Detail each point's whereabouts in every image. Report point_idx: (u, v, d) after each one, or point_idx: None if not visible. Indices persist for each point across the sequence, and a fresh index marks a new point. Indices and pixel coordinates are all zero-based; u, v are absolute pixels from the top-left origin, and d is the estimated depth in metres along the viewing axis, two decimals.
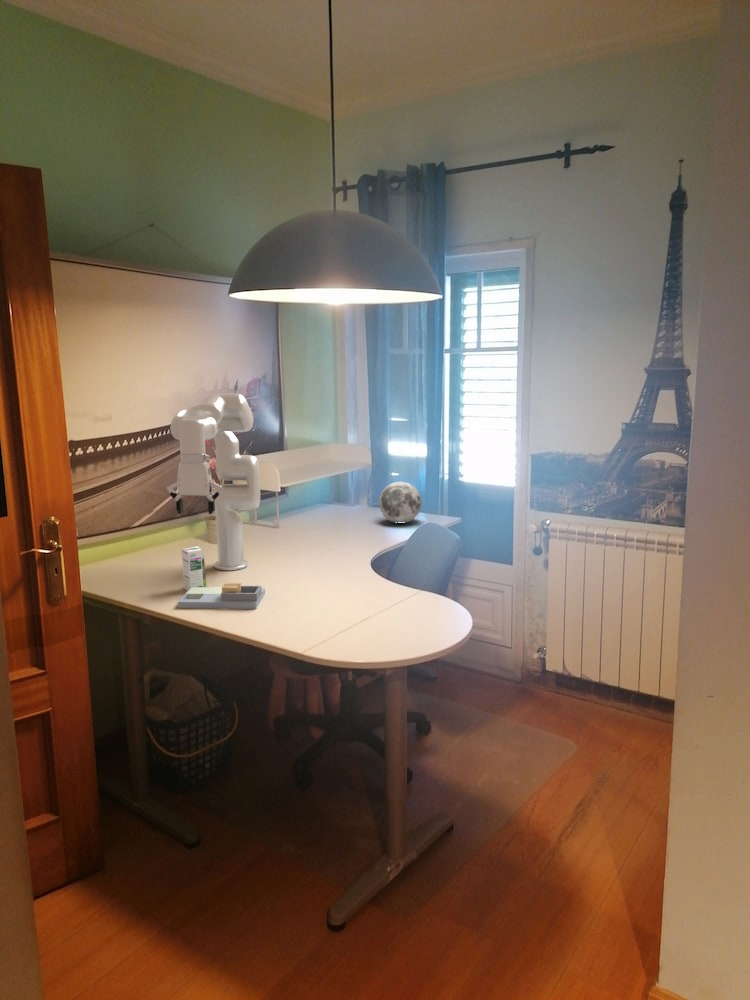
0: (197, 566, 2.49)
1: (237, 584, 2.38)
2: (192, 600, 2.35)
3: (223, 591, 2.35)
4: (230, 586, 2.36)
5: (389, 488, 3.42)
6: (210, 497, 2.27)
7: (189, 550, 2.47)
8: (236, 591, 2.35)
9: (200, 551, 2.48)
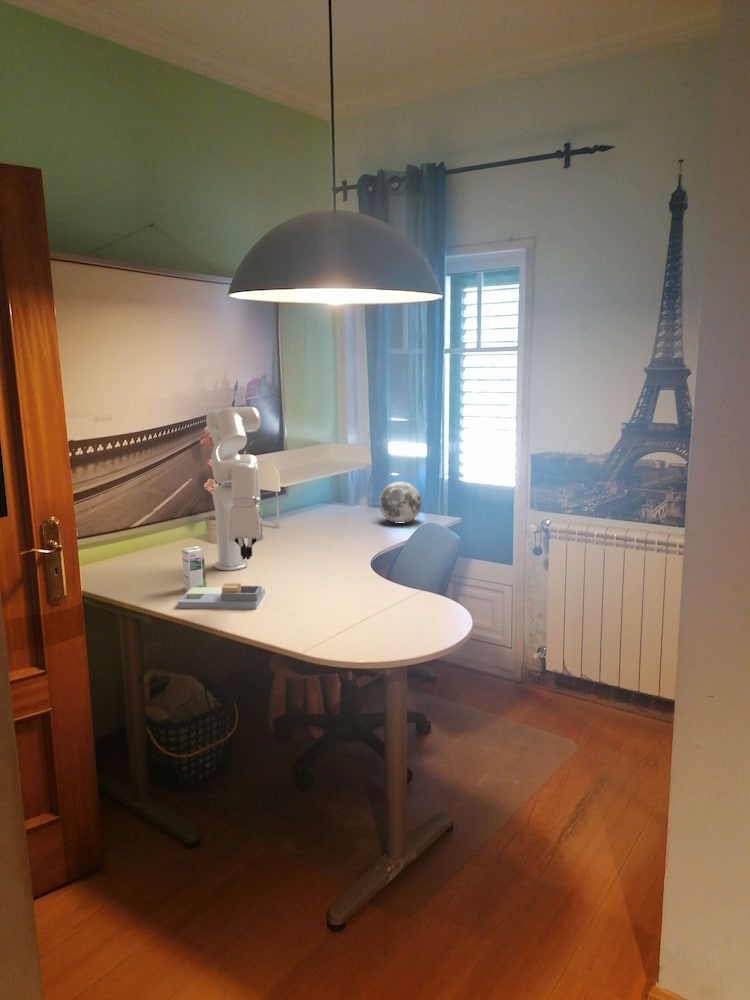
0: (197, 566, 2.49)
1: (237, 584, 2.38)
2: (192, 600, 2.35)
3: (223, 591, 2.35)
4: (230, 586, 2.36)
5: (389, 488, 3.42)
6: (250, 543, 2.33)
7: (189, 550, 2.47)
8: (236, 591, 2.35)
9: (200, 551, 2.48)
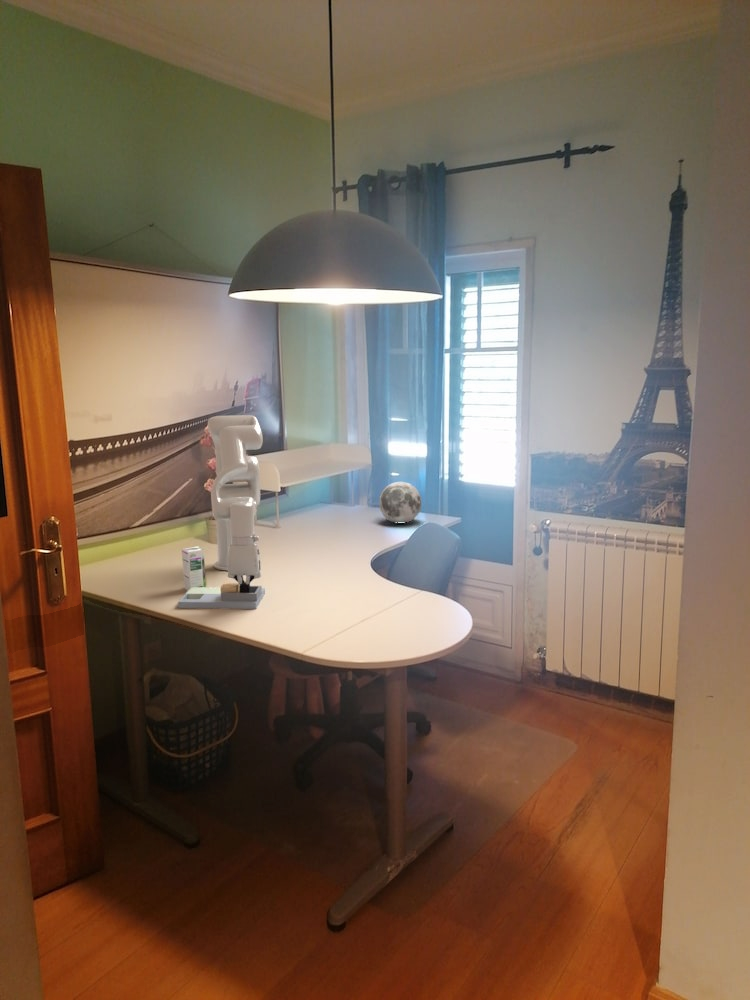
0: (197, 566, 2.49)
1: (236, 584, 2.38)
2: (192, 600, 2.35)
3: (221, 591, 2.35)
4: (229, 586, 2.36)
5: (389, 488, 3.42)
6: (248, 580, 2.35)
7: (189, 550, 2.47)
8: (235, 591, 2.35)
9: (200, 551, 2.48)
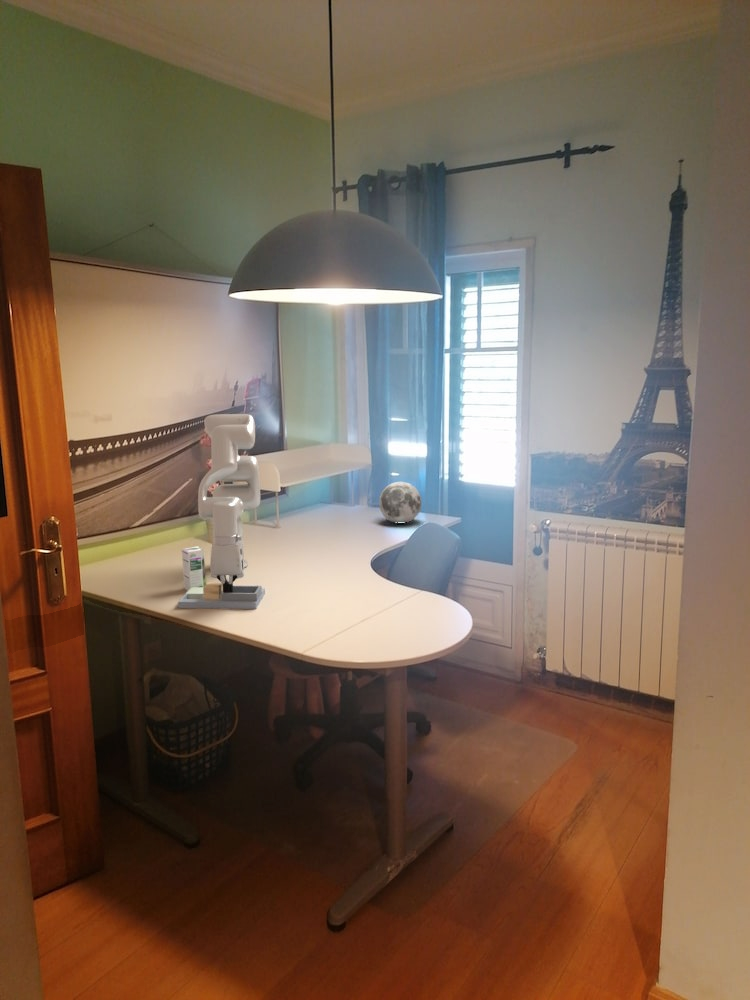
0: (197, 566, 2.49)
1: (218, 584, 2.38)
2: (192, 600, 2.35)
3: (204, 591, 2.35)
4: (212, 586, 2.36)
5: (389, 488, 3.42)
6: (231, 580, 2.36)
7: (189, 550, 2.47)
8: (217, 591, 2.35)
9: (200, 551, 2.48)
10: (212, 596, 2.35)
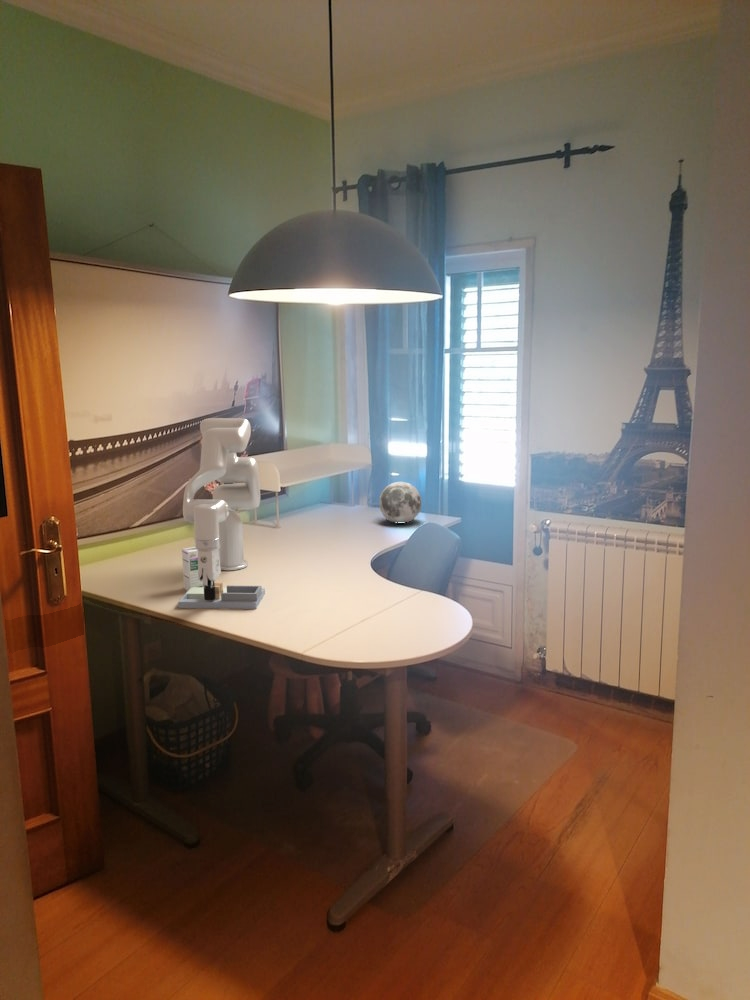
0: (197, 566, 2.49)
1: (219, 584, 2.38)
2: (192, 600, 2.35)
3: None
4: None
5: (389, 488, 3.42)
6: None
7: (189, 550, 2.47)
8: (218, 591, 2.36)
9: None
10: None
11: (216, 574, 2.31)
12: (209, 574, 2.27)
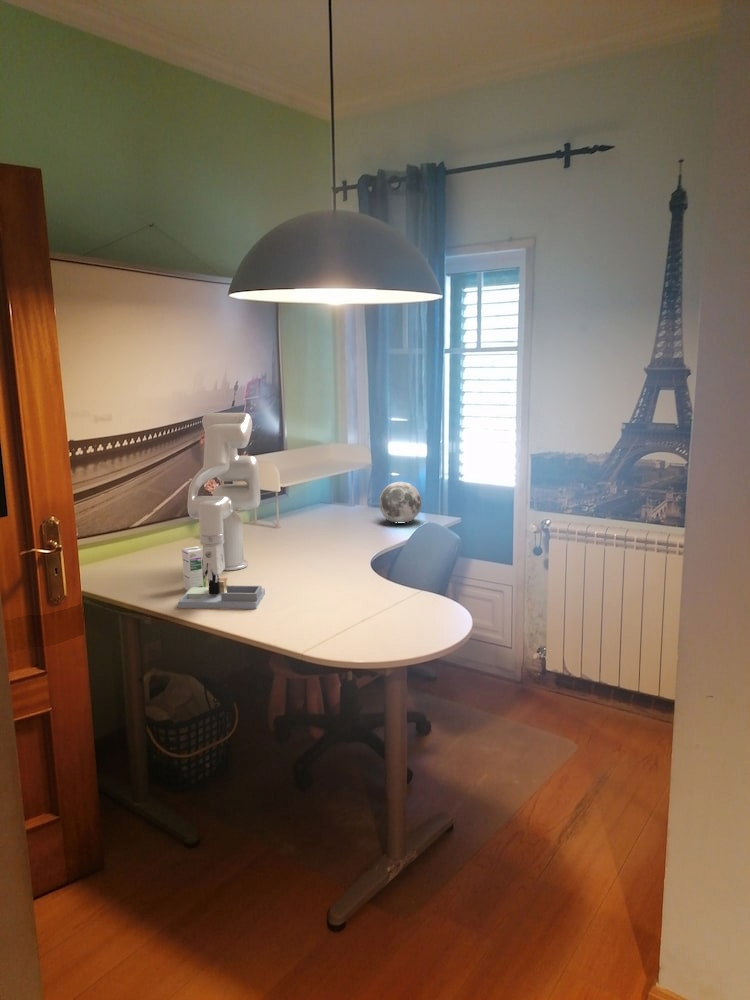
0: (197, 566, 2.49)
1: (223, 579, 2.44)
2: (192, 600, 2.35)
3: None
4: None
5: (389, 488, 3.42)
6: None
7: (189, 550, 2.47)
8: (222, 585, 2.41)
9: (200, 551, 2.48)
10: None
11: (220, 569, 2.36)
12: (214, 569, 2.32)
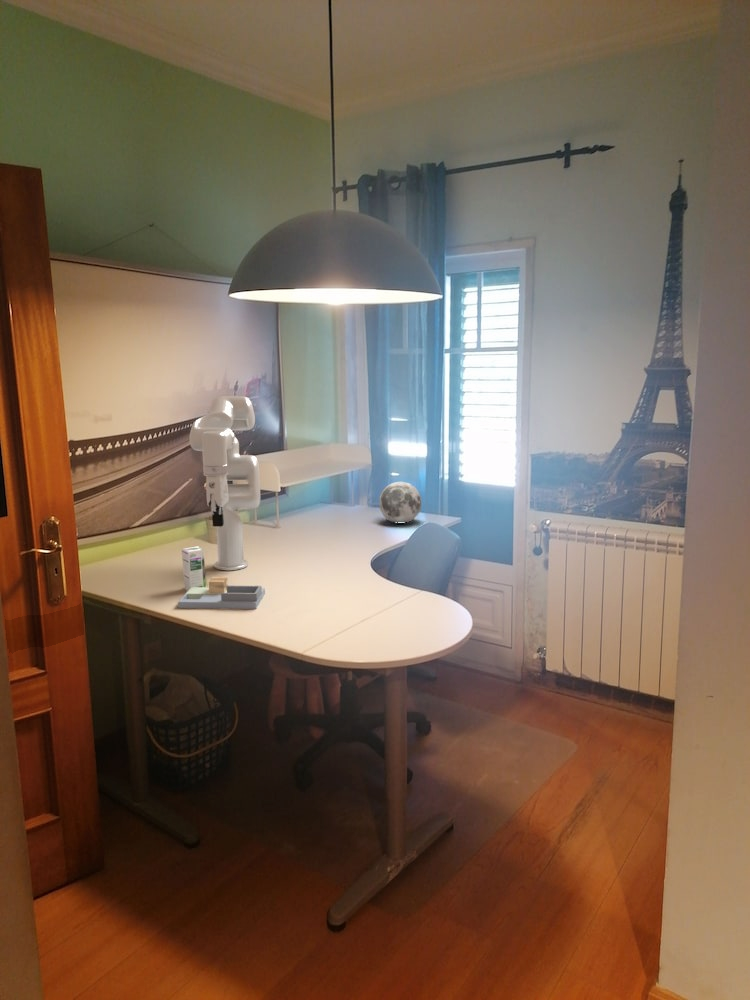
0: (197, 566, 2.49)
1: (224, 578, 2.44)
2: (192, 600, 2.35)
3: (210, 585, 2.41)
4: (217, 580, 2.42)
5: (389, 488, 3.42)
6: None
7: (189, 550, 2.47)
8: (223, 585, 2.41)
9: (200, 551, 2.48)
10: (218, 590, 2.42)
11: (224, 500, 2.34)
12: (217, 500, 2.30)
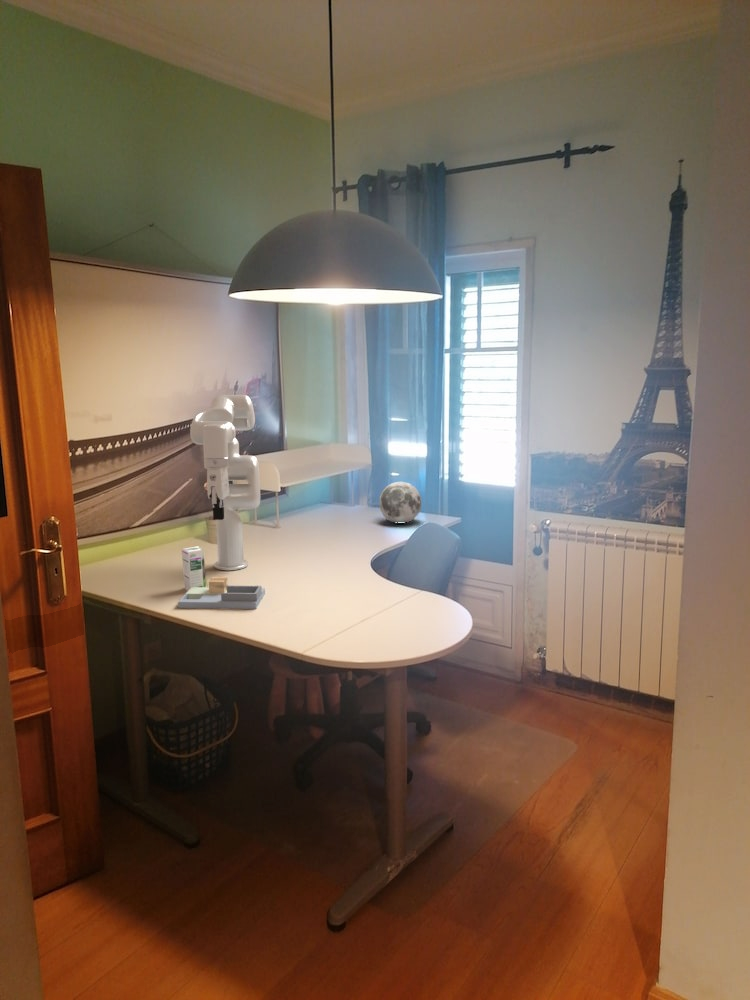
0: (197, 566, 2.49)
1: (224, 578, 2.44)
2: (192, 600, 2.35)
3: (210, 585, 2.41)
4: (217, 580, 2.42)
5: (389, 488, 3.42)
6: None
7: (189, 550, 2.47)
8: (223, 585, 2.41)
9: (200, 551, 2.48)
10: (218, 590, 2.42)
11: (225, 493, 2.34)
12: (218, 492, 2.30)
